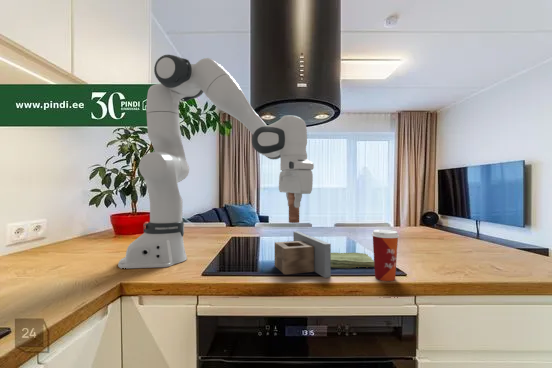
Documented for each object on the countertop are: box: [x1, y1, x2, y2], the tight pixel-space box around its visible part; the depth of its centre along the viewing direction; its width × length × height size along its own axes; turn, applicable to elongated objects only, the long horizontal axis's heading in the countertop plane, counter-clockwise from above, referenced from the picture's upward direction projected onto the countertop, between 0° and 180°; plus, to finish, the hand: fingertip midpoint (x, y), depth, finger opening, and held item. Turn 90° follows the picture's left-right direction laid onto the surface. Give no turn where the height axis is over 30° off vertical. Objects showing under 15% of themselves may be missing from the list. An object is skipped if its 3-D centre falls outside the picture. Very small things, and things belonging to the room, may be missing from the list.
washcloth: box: [331, 252, 374, 269], centre depth 103 cm, size 13×18×3 cm
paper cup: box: [371, 229, 400, 282], centre depth 87 cm, size 8×8×14 cm
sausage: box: [288, 193, 300, 224], centre depth 96 cm, size 4×4×12 cm
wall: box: [292, 230, 332, 279], centre depth 98 cm, size 2×24×10 cm, turn 19°
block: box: [274, 240, 315, 275], centre depth 96 cm, size 10×10×8 cm
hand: (293, 206), depth 96 cm, fingers closed on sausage, 3 cm apart
